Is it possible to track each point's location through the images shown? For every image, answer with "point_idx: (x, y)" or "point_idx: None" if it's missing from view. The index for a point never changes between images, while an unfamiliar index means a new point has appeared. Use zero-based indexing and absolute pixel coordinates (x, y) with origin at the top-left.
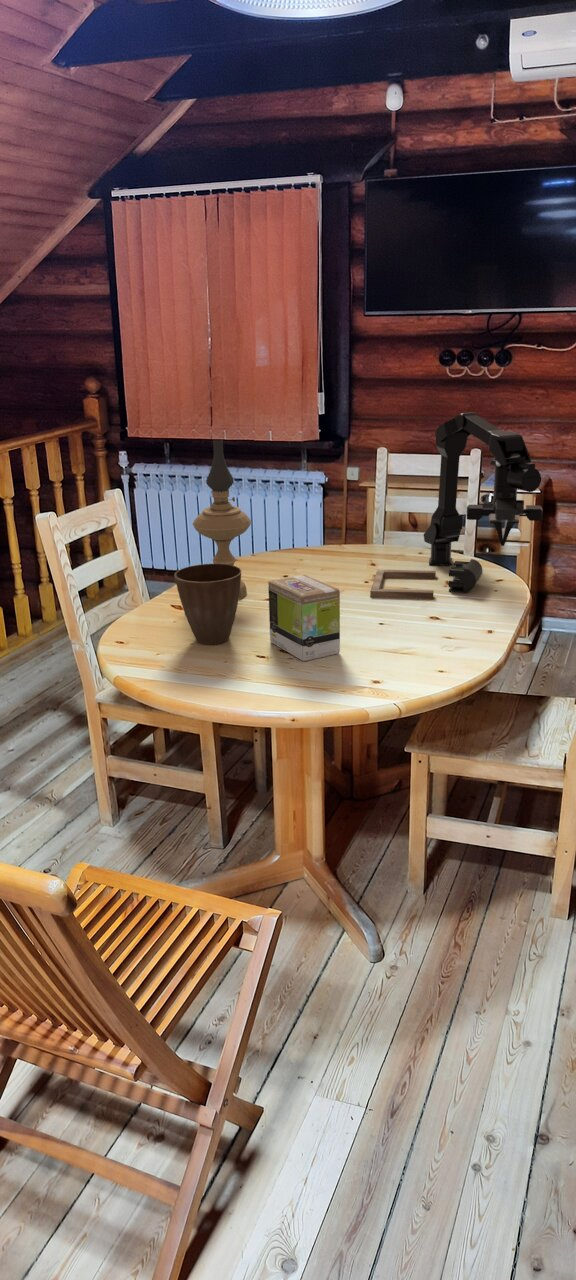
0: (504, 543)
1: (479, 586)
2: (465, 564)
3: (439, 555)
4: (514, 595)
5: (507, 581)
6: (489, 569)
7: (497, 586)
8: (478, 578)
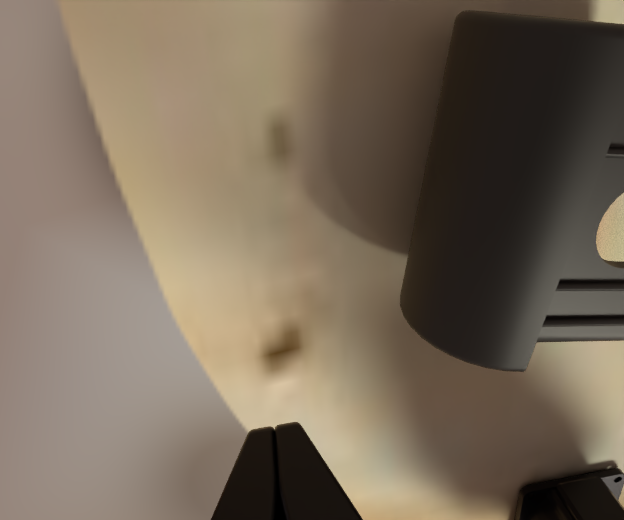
0: (244, 456)
1: (391, 216)
2: (574, 266)
3: (610, 517)
4: (121, 55)
5: (231, 347)
6: (346, 489)
7: (278, 243)
8: (431, 158)
